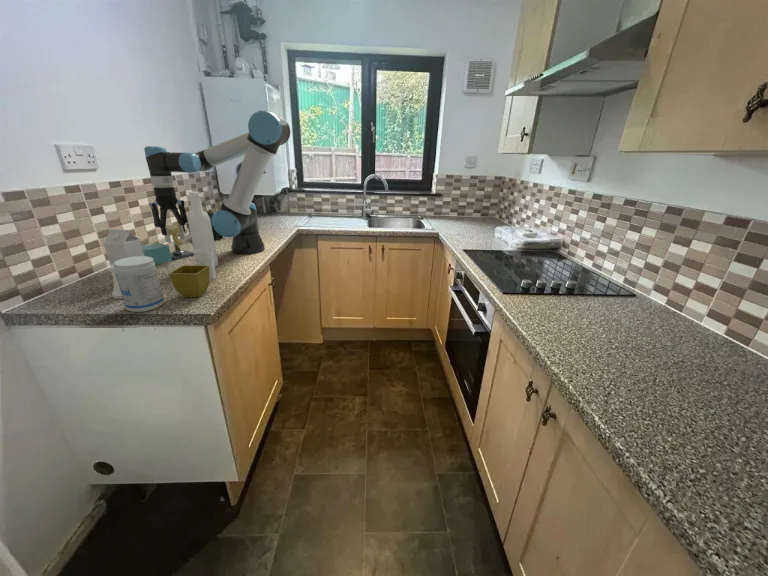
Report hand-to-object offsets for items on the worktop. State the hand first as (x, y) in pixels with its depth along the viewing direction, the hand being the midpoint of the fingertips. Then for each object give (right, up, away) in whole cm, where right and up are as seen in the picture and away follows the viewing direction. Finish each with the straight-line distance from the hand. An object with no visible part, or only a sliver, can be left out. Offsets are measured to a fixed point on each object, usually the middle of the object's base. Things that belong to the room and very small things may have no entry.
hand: (175, 240), depth 141 cm
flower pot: (+30, -24, -35) cm, 52 cm away
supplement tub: (+20, -27, -44) cm, 56 cm away
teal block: (-5, -10, -5) cm, 12 cm away
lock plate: (0, -7, +3) cm, 7 cm away
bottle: (+19, -12, -8) cm, 24 cm away
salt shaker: (+8, -23, -37) cm, 44 cm away
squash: (-2, +6, +35) cm, 36 cm away
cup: (+27, -18, -21) cm, 38 cm away
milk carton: (+2, -19, -26) cm, 33 cm away
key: (+2, -5, 0) cm, 5 cm away
